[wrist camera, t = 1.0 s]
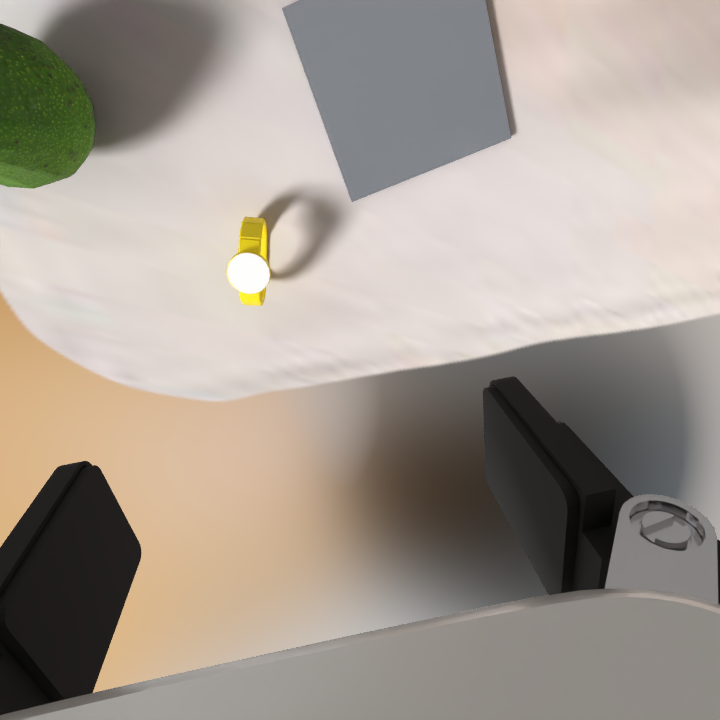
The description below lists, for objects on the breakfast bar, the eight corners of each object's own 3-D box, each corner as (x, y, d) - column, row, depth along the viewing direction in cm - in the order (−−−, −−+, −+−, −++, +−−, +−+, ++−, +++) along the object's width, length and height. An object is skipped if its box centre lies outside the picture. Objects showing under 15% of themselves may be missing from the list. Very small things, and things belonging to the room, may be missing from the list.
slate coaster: (468, -73, 27) (471, -77, 27) (508, 137, 33) (511, 137, 32) (282, 10, 28) (282, 8, 28) (351, 200, 34) (351, 202, 33)
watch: (239, 212, 34) (225, 221, 28) (277, 215, 34) (270, 225, 29) (240, 291, 36) (227, 314, 31) (275, 294, 36) (269, 316, 31)
